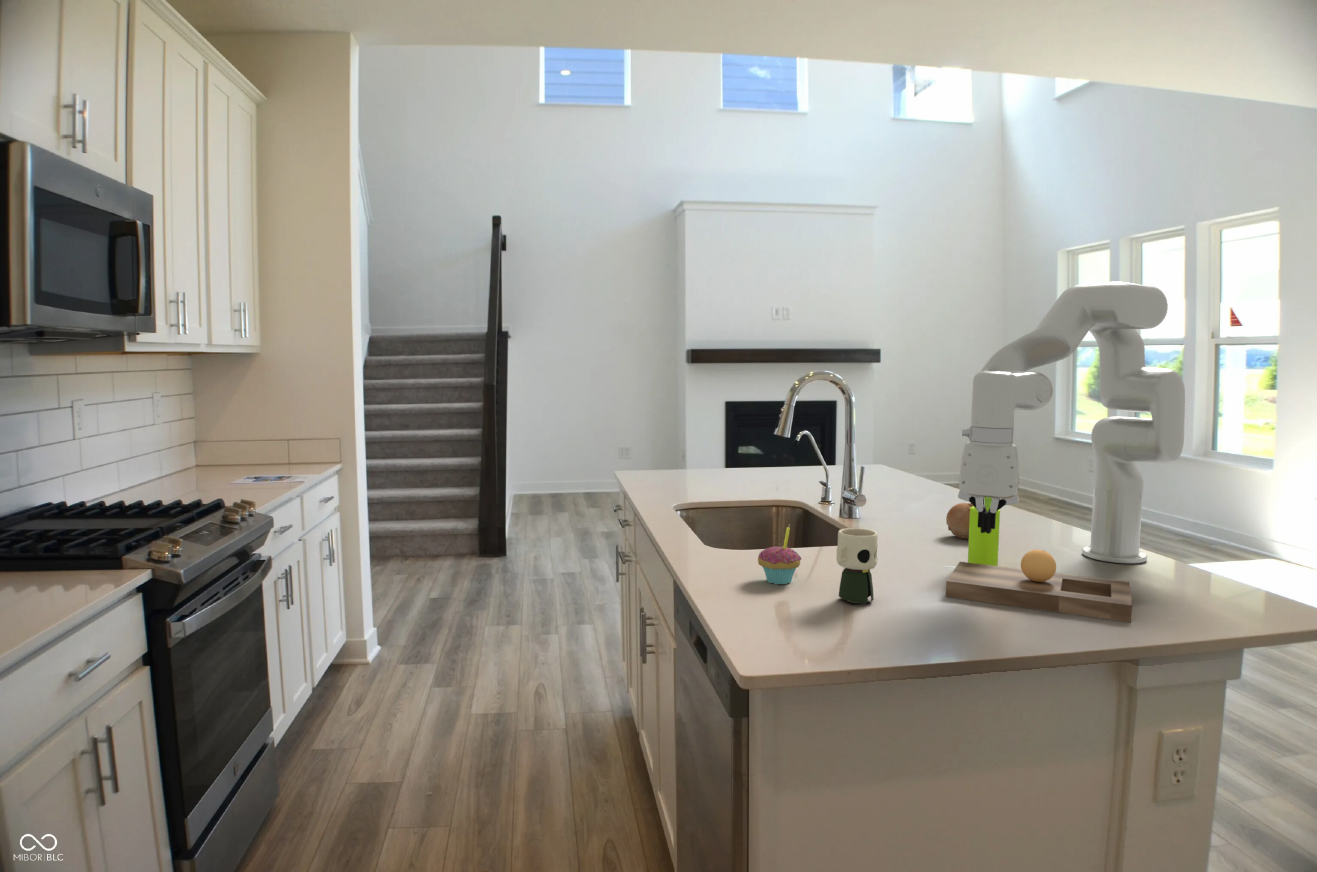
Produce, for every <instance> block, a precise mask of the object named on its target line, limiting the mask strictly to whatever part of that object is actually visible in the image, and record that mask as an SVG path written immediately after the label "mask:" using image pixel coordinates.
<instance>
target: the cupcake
mask: <svg viewBox="0 0 1317 872" xmlns="http://www.w3.org/2000/svg"><path fill="white" fill-rule="evenodd" d="M790 526H791V524H790V523H789V524H788V527H786V528H785V529H786V530H785V535H784V541H783V545H782V546H777V545H776V546H769V547H766V548H764V549H763V550H762V551H761V550H760V552H759V553H758V557H757V564H758V566H761V567H762V569H763V572H764V574H765V578H766V581H767V583H769V582H770V583H769V584H771V583H774V584H773V585H777V584H785V585H788V584H787V583H789V584H791V583H792V582H793V581H792V580H793V578H794V574H795V572H796V570H797V568H799V567H800V566H801V560H802V556H800V554H798V552H797V551H795V550H794V549H792V548H791V547H788V540H789V536H790V531H791V528H790ZM790 582H791V583H790Z"/></svg>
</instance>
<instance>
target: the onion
mask: <svg viewBox="0 0 1317 872" xmlns="http://www.w3.org/2000/svg"><path fill="white" fill-rule="evenodd" d="M972 506H973V505H972V504H971V503H970V502H968V503H967V502H960V503H957V504H953V506H952V507H950V509H949V510H948V512H947V513H946V517H945V518H946V519H945V520H946V521H945V523H946V525H947V527H948V531H950V532H951V534H952V535H954V536H955V537H956V538H957V539H960V540H969V520H970V507H972Z"/></svg>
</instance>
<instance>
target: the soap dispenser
mask: <svg viewBox="0 0 1317 872" xmlns="http://www.w3.org/2000/svg"><path fill="white" fill-rule="evenodd" d="M984 501H985V507H986V510H987V511H988V509H989V508H990V507H991V502H992V497H984ZM1000 519H1001V509H999V510H998V511H997V512H996V523H995V529H992V531H991V533H990V534H988V533H986V532H984V533H981V528H980V527H978V511H977V509H976V508H975V507H974V506H972V507H970V520H969V539H968V545H967V546H968V547H967V548H968V549H967V563H976V564H984V565H992V566H999V564H998V563H999V543H1000V521H1001V520H1000Z"/></svg>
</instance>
